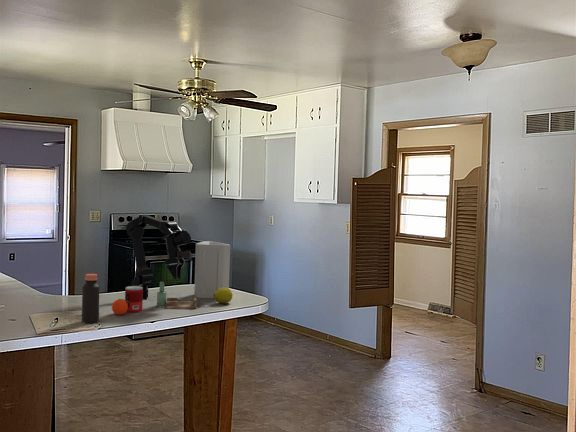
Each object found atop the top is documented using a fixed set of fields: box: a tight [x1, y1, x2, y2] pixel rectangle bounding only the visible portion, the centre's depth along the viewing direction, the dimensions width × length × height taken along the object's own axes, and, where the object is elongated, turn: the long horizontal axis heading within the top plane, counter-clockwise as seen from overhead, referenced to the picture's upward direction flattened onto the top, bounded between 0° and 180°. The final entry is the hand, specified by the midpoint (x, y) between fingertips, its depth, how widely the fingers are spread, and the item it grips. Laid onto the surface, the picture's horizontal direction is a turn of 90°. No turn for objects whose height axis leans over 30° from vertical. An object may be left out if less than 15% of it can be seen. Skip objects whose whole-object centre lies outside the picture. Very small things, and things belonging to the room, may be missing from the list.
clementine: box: [111, 298, 129, 316], centre depth 266 cm, size 8×7×7 cm
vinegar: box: [81, 273, 100, 324], centre depth 250 cm, size 7×7×20 cm
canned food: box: [124, 285, 144, 314], centre depth 274 cm, size 8×8×11 cm
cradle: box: [165, 295, 198, 310], centre depth 290 cm, size 14×13×4 cm
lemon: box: [213, 288, 233, 305], centre depth 299 cm, size 11×8×8 cm
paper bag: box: [193, 240, 231, 299], centre depth 317 cm, size 19×15×28 cm
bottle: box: [156, 281, 167, 308], centre depth 288 cm, size 4×4×12 cm
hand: (177, 278), depth 289 cm, fingers open, 9 cm apart
